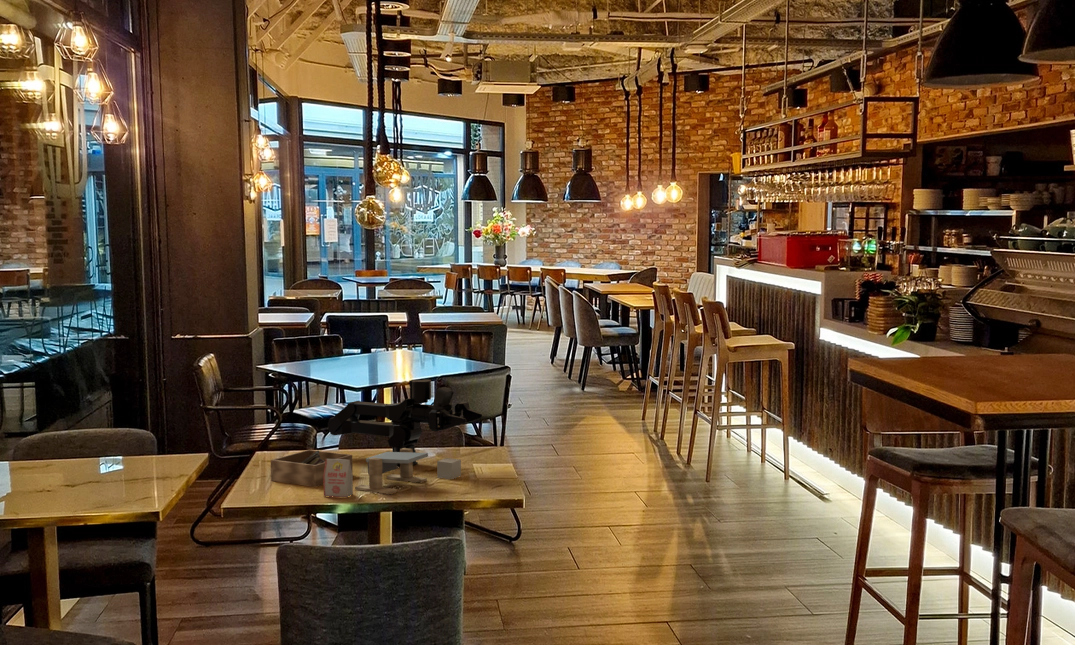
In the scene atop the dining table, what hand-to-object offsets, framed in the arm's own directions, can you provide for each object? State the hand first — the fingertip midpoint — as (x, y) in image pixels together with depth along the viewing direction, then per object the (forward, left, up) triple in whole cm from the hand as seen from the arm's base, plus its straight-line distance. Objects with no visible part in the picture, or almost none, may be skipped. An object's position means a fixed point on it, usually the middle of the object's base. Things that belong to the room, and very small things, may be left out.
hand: (474, 418), depth 276 cm
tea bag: (-19, -39, -17) cm, 47 cm away
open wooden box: (-39, -26, -17) cm, 50 cm away
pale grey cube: (-4, -7, -17) cm, 19 cm away
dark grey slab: (-11, -23, -12) cm, 28 cm away
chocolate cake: (-40, -26, -17) cm, 50 cm away
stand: (-13, -23, -17) cm, 31 cm away
